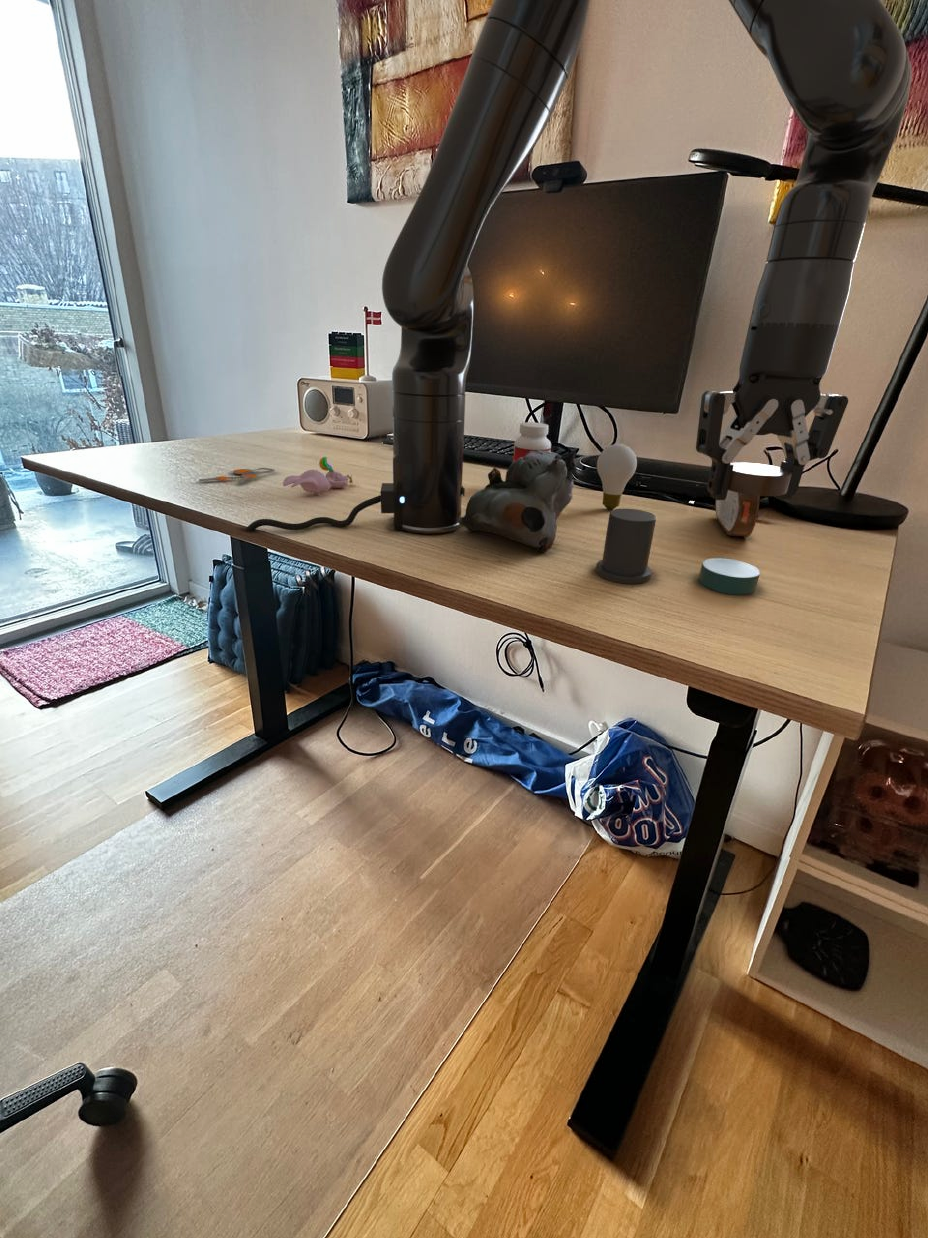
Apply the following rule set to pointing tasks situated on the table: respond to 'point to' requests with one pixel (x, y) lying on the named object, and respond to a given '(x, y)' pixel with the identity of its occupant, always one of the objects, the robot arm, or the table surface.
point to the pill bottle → (531, 439)
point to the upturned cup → (627, 546)
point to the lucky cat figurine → (524, 499)
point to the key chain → (244, 477)
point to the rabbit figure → (319, 479)
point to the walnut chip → (759, 479)
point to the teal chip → (729, 576)
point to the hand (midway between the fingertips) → (749, 498)
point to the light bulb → (615, 472)
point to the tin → (738, 513)
